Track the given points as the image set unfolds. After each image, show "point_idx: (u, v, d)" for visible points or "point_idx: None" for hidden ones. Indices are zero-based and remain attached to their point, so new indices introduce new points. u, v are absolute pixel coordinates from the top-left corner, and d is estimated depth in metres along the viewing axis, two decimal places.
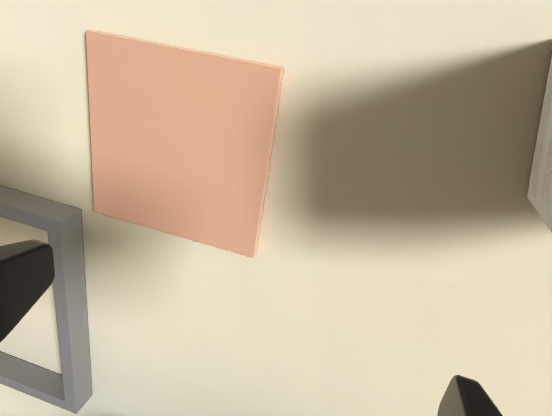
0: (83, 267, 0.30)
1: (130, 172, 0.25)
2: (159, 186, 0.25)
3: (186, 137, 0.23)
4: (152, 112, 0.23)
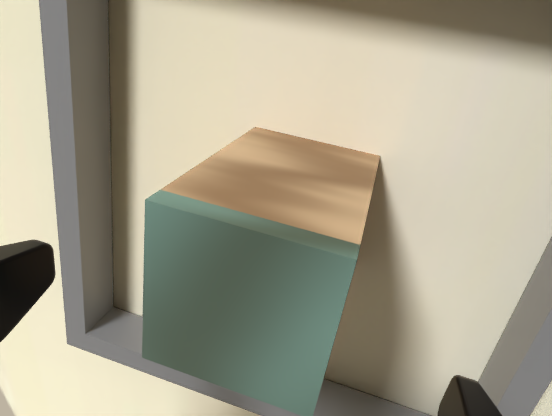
0: None
1: None
2: None
3: None
4: None
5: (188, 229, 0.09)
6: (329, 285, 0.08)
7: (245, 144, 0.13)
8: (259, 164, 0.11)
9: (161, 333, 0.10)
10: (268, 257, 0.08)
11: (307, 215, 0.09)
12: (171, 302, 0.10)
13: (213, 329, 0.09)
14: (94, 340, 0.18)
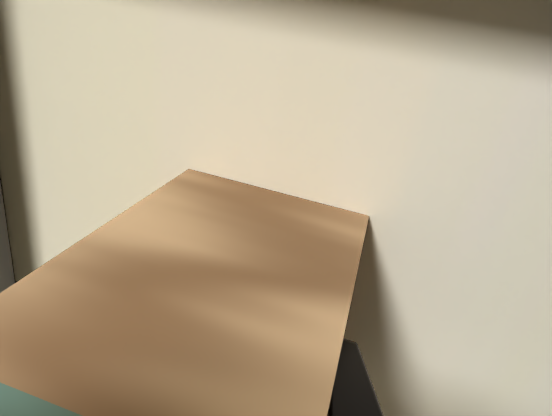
0: None
1: None
2: None
3: None
4: None
5: None
6: None
7: (157, 206, 0.08)
8: (164, 252, 0.07)
9: None
10: None
11: (210, 402, 0.05)
12: None
13: None
14: None
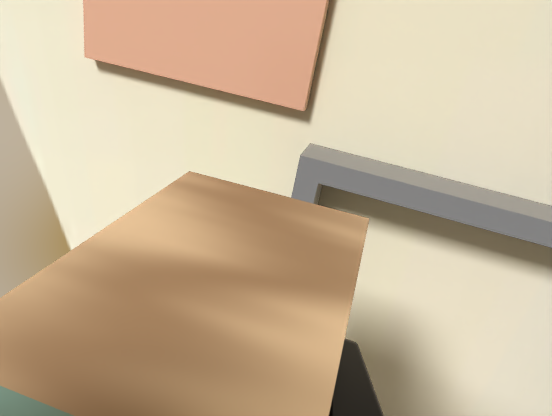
0: (412, 170, 0.18)
1: (237, 29, 0.18)
2: None
3: None
4: None
5: None
6: None
7: (158, 209, 0.08)
8: (165, 255, 0.07)
9: None
10: None
11: (211, 406, 0.05)
12: None
13: None
14: None
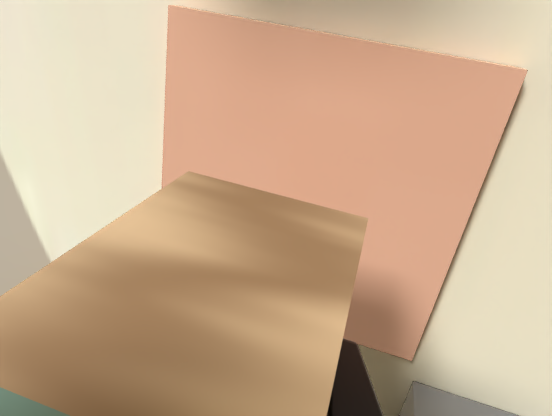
0: None
1: None
2: None
3: (279, 173, 0.15)
4: None
5: None
6: None
7: (157, 209, 0.08)
8: (162, 255, 0.07)
9: None
10: None
11: (208, 406, 0.05)
12: None
13: None
14: None
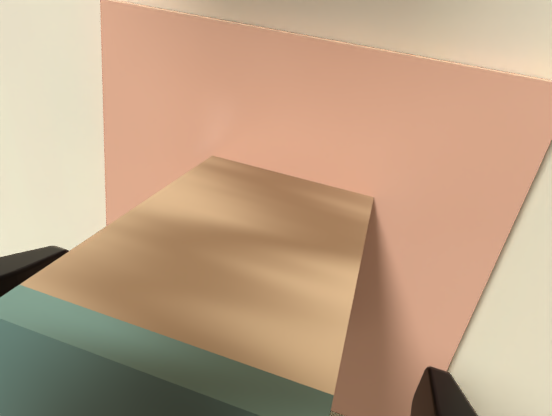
0: None
1: None
2: (354, 294, 0.12)
3: None
4: None
5: (50, 360, 0.05)
6: None
7: (190, 185, 0.09)
8: (200, 221, 0.08)
9: None
10: None
11: (253, 328, 0.06)
12: None
13: None
14: None
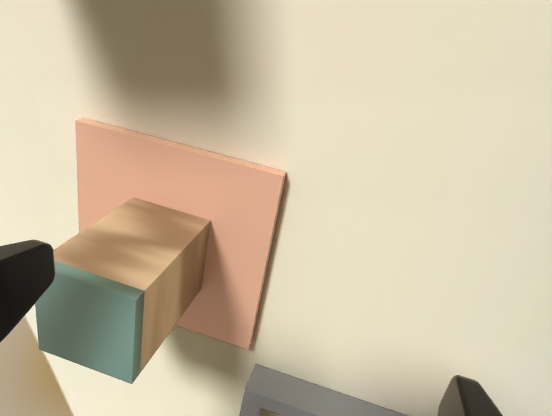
0: (330, 391, 0.25)
1: (197, 295, 0.24)
2: (208, 269, 0.23)
3: None
4: None
5: (55, 280, 0.16)
6: (126, 312, 0.16)
7: (116, 215, 0.20)
8: (117, 233, 0.19)
9: (48, 335, 0.17)
10: (95, 297, 0.16)
11: (125, 272, 0.17)
12: (51, 318, 0.17)
13: (74, 333, 0.17)
14: None
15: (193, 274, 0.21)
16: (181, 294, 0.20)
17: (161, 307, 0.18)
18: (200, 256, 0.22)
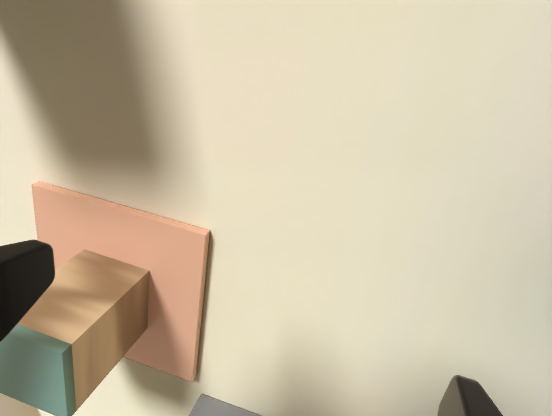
0: None
1: (144, 333, 0.27)
2: (151, 311, 0.26)
3: None
4: None
5: None
6: (55, 362, 0.19)
7: (64, 269, 0.23)
8: (60, 287, 0.22)
9: None
10: (30, 349, 0.19)
11: (58, 326, 0.20)
12: None
13: (18, 378, 0.20)
14: None
15: (133, 318, 0.24)
16: (121, 337, 0.23)
17: (96, 353, 0.21)
18: (140, 302, 0.25)
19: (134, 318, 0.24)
